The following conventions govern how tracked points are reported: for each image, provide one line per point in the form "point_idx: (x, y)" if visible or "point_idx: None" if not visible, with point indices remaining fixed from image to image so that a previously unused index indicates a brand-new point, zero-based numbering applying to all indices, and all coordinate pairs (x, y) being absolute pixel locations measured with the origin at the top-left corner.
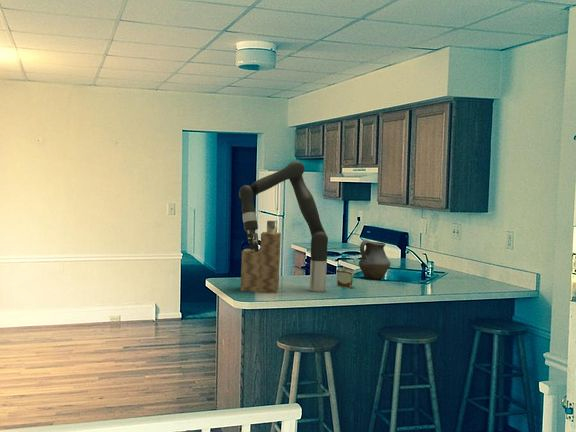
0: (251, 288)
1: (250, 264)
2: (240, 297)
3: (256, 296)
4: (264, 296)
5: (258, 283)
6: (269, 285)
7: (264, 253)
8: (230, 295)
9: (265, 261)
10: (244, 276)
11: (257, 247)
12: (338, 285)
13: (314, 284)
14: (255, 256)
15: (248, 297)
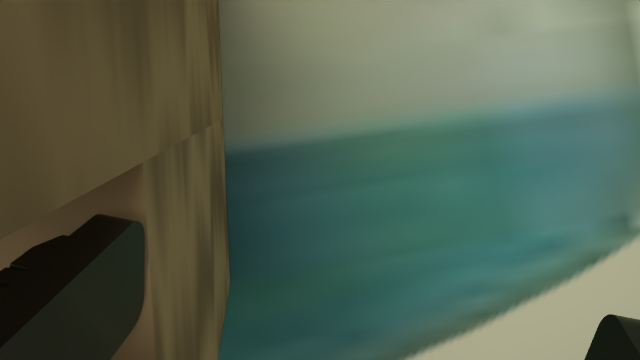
0: (224, 191)
1: (198, 292)
2: (514, 231)
3: (439, 109)
4: (421, 40)
5: (217, 127)
6: (212, 3)
7: (142, 31)
8: (451, 322)
9: (176, 23)
10: (218, 303)
11: (82, 295)
12: None
13: None
14: (173, 254)
15: (498, 169)
